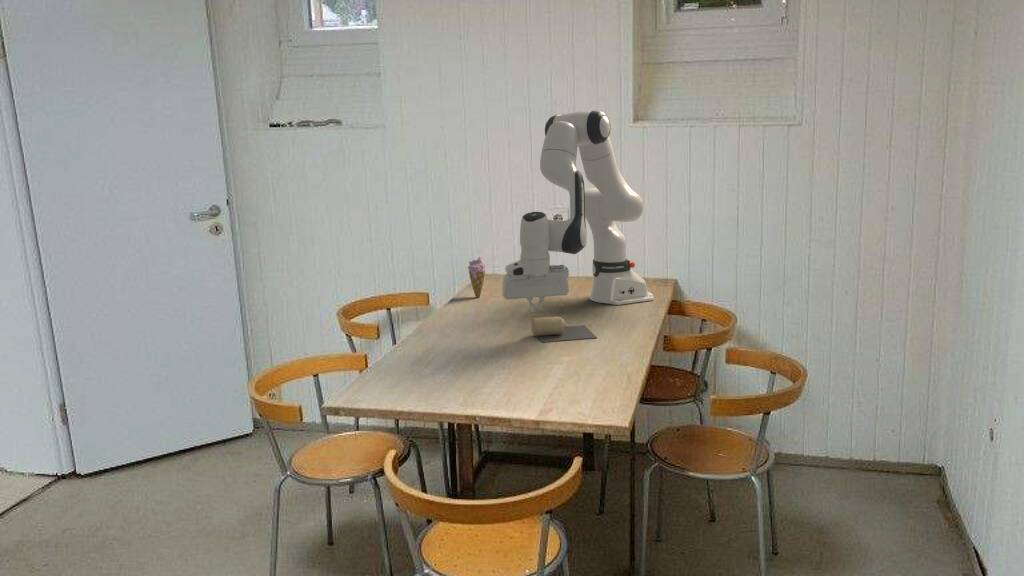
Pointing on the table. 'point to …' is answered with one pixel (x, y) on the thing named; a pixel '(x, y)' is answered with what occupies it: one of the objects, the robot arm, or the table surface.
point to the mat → (569, 334)
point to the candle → (548, 326)
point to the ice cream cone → (477, 275)
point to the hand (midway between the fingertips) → (536, 311)
